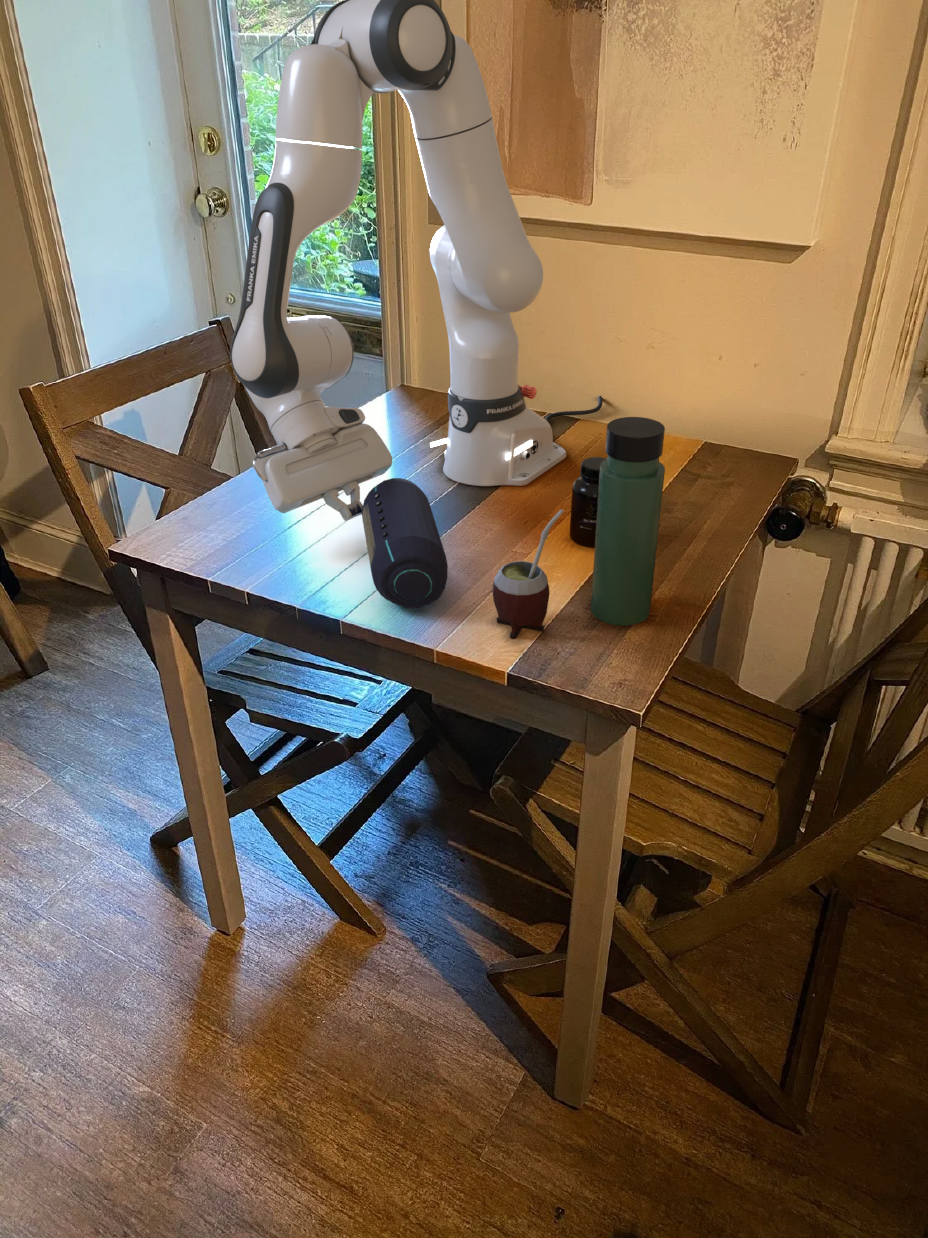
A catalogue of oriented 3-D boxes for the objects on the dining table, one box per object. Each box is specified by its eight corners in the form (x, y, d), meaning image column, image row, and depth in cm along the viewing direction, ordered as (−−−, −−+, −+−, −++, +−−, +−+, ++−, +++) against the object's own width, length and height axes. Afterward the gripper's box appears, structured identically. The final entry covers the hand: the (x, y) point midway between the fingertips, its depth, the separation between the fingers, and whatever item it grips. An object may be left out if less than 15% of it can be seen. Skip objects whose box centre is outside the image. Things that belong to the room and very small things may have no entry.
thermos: (614, 588, 126) (629, 410, 113) (661, 609, 122) (682, 426, 108) (578, 610, 122) (589, 427, 108) (626, 632, 117) (643, 444, 104)
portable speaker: (362, 533, 141) (357, 472, 136) (427, 527, 142) (425, 466, 137) (376, 623, 120) (371, 554, 115) (453, 615, 122) (452, 547, 116)
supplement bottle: (586, 553, 135) (590, 476, 128) (560, 534, 140) (563, 459, 133) (625, 542, 137) (631, 466, 131) (598, 524, 142) (603, 449, 136)
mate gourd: (484, 635, 118) (484, 528, 109) (505, 603, 124) (505, 500, 116) (542, 646, 115) (545, 537, 107) (559, 613, 121) (564, 508, 113)
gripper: (254, 444, 128) (304, 531, 127) (369, 405, 140) (416, 485, 139) (240, 465, 133) (289, 549, 133) (353, 426, 145) (398, 503, 145)
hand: (355, 516), depth 136 cm, fingers closed
